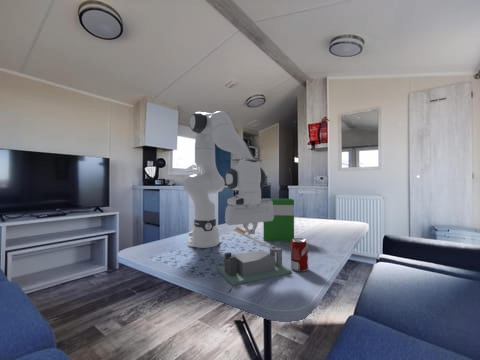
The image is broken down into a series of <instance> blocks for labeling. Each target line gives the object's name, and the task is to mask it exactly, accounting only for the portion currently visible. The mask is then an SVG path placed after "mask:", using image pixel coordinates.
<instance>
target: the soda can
mask: <svg viewBox="0 0 480 360" xmlns="http://www.w3.org/2000/svg"><path fill="white" fill-rule="evenodd" d="M292 240H293V241H290V242H291V243H290V268H291V270H293V271H295V272H301V273H302V272H306V271H307V270H308V269H309V244H308V242H307V239H306V238H303V237H294V239H292Z"/></svg>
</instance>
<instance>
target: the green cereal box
mask: <svg viewBox="0 0 480 360" xmlns="http://www.w3.org/2000/svg"><path fill="white" fill-rule="evenodd" d="M270 199H271V200H272V202H273V212H274V219H273V221H267V222H262V224H263V225H262V226H263V241H268V242H273V241H274V242H292V241H293V240H292V239H294V238H295V199H294V198H270Z"/></svg>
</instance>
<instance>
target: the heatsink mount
mask: <svg viewBox="0 0 480 360" xmlns="http://www.w3.org/2000/svg"><path fill="white" fill-rule="evenodd" d="M269 246H270V247H272V248H275V249H276V252H274V251H273V250H271V249H269V253H268V252H267V251H265V250H263V249H262V250H254V251H250V252H249V251H248V252H242V253H235V254H232V252H225V253H224V265H220V266H217V268H216V269H217V270H218V271H219V273H220V274H221V275H222V276H223V277H224V278H225V279H226V280H227V281H228V282H229V284H231V285H232V286H235V285H236V286H237V285H240V284H244V283H249V282H254V281H255V282H256V281H260V280H264V279H268V278H273V277H278V276H282V275H288V274H292V272H293V271H292V270H293V269H292V268H291V269H290V268H288V267H287V266H285V265H283V249H282V248H280V247H279V248H276V245H269Z"/></svg>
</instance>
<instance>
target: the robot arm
mask: <svg viewBox="0 0 480 360" xmlns="http://www.w3.org/2000/svg"><path fill="white" fill-rule="evenodd" d="M189 124H190V125H189V126H190V129H191V131H192V132H193V133H196V136H195V141H194V142H195V143H194V163H195V165H196V166H198V168H199V169H200V170H201V173H200V174H197V173H196V174H191V175H187V176H186V177H185V178H184V180H183V183H182V184H183V186H182V187H183V189H184V191H185V193H186V194H187V195H189V197H190V198H191V199H192V201H193V204H194V216H195V217H194V221H193V228H192V229H191V231H190V232H188V235H189V236H188V238H187V244H188V246H187V247H190V248H199V249H201V248H202V249H203V248H205V249H207V248H214V247H216V246H218V245H219V244H221V243H222V239H220V232H219V231H220V230H219V228H218V227H217V218H216V205H215V203H214V202H213V201H211V200H210V199H209V194H217V193H220V192H223V190H224V188H225V185H226V187H227V188H228V189H229V190H232V191H238V194H237V195H235V196H232V197H229V198H227V201H226V202H227V206H226V207H225V212H224V214H225V215H224V221H225V223H226V225H229V226H237V225H242V227H243V229H244V231H246V232H245V234H246V235H248V236H250V235H256V229H257V228H258V226H259V224H258V223H263V222H267V221H273V219H274V212H273V202H272V200H271V199H272V198H268V197H267V198H262V189H263V188H264V186H265V184H266V183H267V174H266V172H265V171H264V169H263V167H261V165H260V161H259V160H258V159H256V157H255V156H254V153H253V152H252V150H251V148H250V147H249V144H248V143H247V142H246V141H245V140H244V139H243V138H242V137H241V136H240V135H239V134H238V132H237V131H236V129H235V126H234V124H233V121H232V119H231V118H230V117H229V115H228V114H227V112H225V111H222V110H218V111H215V112H212V113H211V112H201V111H196V112H194V113H193V114H191V116H190V120H189ZM216 147H218V148H219V149H220V150H222V151H226V152H228V153H232V154H234V155H236V156H238V158H240V159H239V160H238V163H237V164H236V165H235V166H233V167H231V168H229V169H228V170H227V171H226V173H225V174H224V175H225V176H224V177H223V176H221V174H220V172H219V171H218V168H217V164H216ZM249 224H252V227H251V228H249Z"/></svg>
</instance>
